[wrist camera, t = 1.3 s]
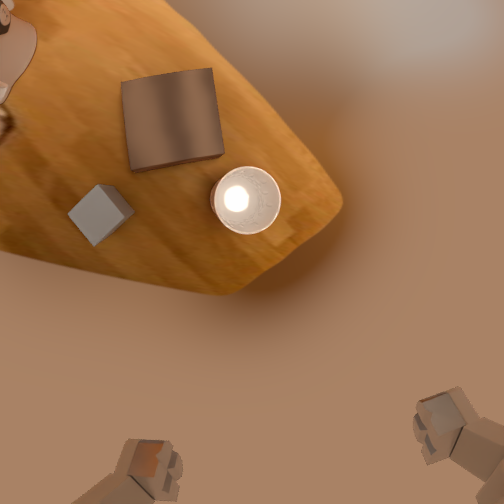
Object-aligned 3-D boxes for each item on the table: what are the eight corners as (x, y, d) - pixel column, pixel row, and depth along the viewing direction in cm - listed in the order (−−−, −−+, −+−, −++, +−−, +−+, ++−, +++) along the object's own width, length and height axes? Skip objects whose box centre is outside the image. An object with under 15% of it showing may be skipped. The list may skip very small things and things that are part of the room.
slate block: (110, 235, 43) (94, 246, 33) (88, 209, 41) (67, 214, 32) (135, 212, 43) (124, 217, 33) (113, 185, 42) (97, 183, 32)
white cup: (199, 179, 44) (206, 175, 35) (251, 166, 46) (272, 159, 36) (213, 232, 46) (224, 242, 37) (264, 217, 48) (287, 224, 38)
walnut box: (136, 173, 42) (130, 170, 37) (126, 95, 40) (120, 82, 34) (218, 158, 45) (224, 153, 39) (206, 82, 42) (211, 67, 36)
